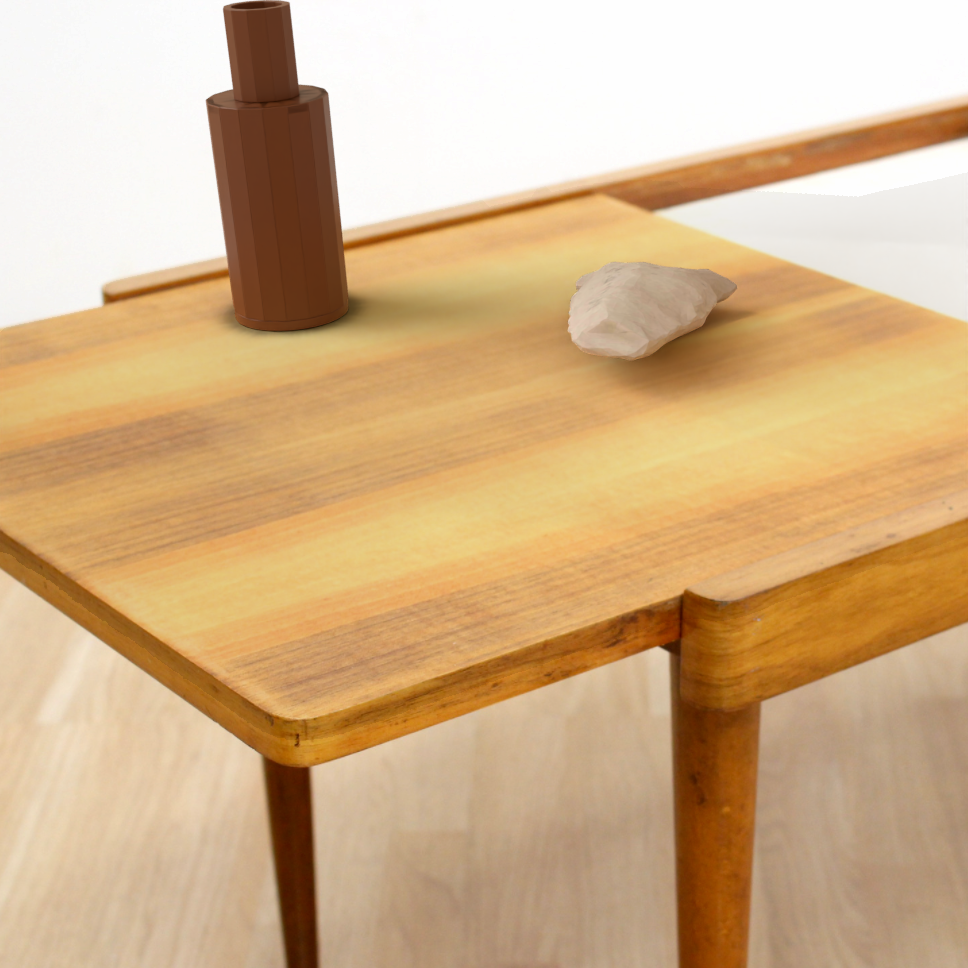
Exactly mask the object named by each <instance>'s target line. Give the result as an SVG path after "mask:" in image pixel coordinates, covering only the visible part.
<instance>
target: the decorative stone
mask: <svg viewBox="0 0 968 968" xmlns="http://www.w3.org/2000/svg"><path fill="white" fill-rule="evenodd" d="M575 289H576V290H577V291H576V292H575V293H574V294H573V295H571V297H570V300H569V301H570V303H569V311H568V315H569V318H568V320H567V324H568V328H567V332H568V333H569V334H570V337H571V343H573V344H574V345H575V346H576V347H577V348H578V349H579V350H580V352H583V354H589V355H593V356H598V357H599V356H600V357H607V358H613V359H621V360H627V361H635V360H638V359H644V358H648V357H650V356H652V355H653V354H654V353H656V352H657V351H659V350H660V349H661V348H662V347H663V346H664V345H666V344H668V343H670V342H671V341H674V340H675V339H677V338H679V337H682V336H684V335H687V334H689V333H691V332H693V331H695V330H697V329H699V328H701V327H702V326H703V325H704V324H705V323H706V319H707V317H708V316H709V315H710V313H711V312H712V310H713V309H715V307H716V305H717V304H719V303H721V302H723V301H725V300H727V299H729V298H730V297H731V296H732V294H734V293H735V292H736V290H738V284H737V283H736V282H734V281H732V280H731V279H729V278H728V277H727V276H724V275H722V274H719V273H718V272H715V271H713V270H712V269H709V268H697V269H696V268H685V267H678V266H666V265H659V264H655V263H651V262H647V261H636V262H635V261H633V262H631V261H630V262H622V261H611V262H607V263H606V264H603V266H601V267H600V268H598V269H597V270H594V271H591V272H588V273H586V274H583V275H581V276H580V277H579V278H577V280H576V281H575Z"/></svg>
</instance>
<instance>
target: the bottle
mask: <svg viewBox="0 0 968 968" xmlns="http://www.w3.org/2000/svg"><path fill="white" fill-rule="evenodd" d="M222 13H223V23H224V29H225V36H226V37H225V38H226V44H227V52H228V60H229V67H230V68H229V69H230V76H231V85H232V89H227V90H223V91H221V92H218V93H214V94H212V95H210V96H208V97H207V98H206V99H205V106H206V114H207V121H208V127H209V128H208V129H209V135H210V143H211V151H212V157H213V166H214V173H215V180H216V188H217V194H218V195H217V196H218V203H219V210H220V217H221V226H222V231H223V232H222V234H223V240H224V248H225V256H226V262H227V271H228V275H229V276H228V277H229V278H228V279H229V284H230V291H231V292H230V293H231V300H232V306H233V309H234V310H233V311H234V314H235V315H234V317H235V320H236V321H237V323H238V324H240V325H241V326H244V327H246V328H249V329H254V330H261V331H270V332H284V331H287V332H288V331H297V330H305V329H311V328H315V327H319V326H323V325H327V324H331V323H332V322H334V321H337V320H338V319H341V318H342V317H343V316H344V315H346V314H347V312H348V310H349V308H350V307H349V289H348V280H347V279H348V277H347V268H346V267H347V266H346V258H345V248H344V238H343V237H344V236H343V228H342V227H343V226H342V217H341V208H340V207H341V206H340V198H339V187H338V177H337V166H336V157H335V146H334V137H333V136H334V135H333V127H332V118H331V117H332V115H331V107H330V95H329V92H328V91H327V90H326V89H325V88H323V87H319V86H315V85H311V84H299V76H298V67H297V58H296V56H297V55H296V49H295V39H294V28H293V21H292V20H293V19H292V12H291V2H289V1H287V0H247V1H246V0H245V1H238V2H233V3H229V4H226V5H223V7H222Z"/></svg>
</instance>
